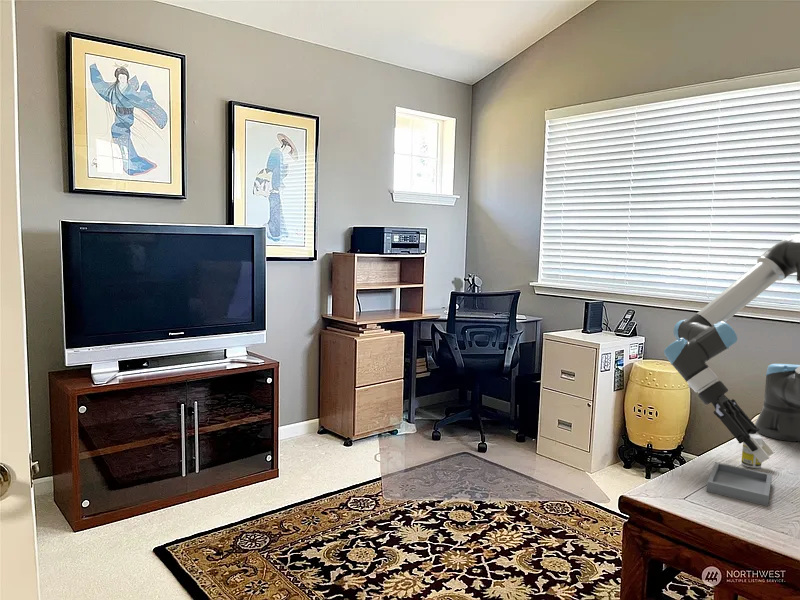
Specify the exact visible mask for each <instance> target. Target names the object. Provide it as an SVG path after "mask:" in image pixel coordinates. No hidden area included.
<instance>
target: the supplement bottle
mask: <svg viewBox="0 0 800 600" xmlns="http://www.w3.org/2000/svg"><path fill="white" fill-rule="evenodd" d="M749 435H750V437H753V438H754V439H755V440H756V441H757V443H758V444H759V445H760V446H761V447H762V449H763V445H762V444H761V443H762V438H763V437H762V436H761V435H760V434H759V435H760V436H759V435H756V434H749ZM740 462H741V464H742V465H743V466H745V467H747V468H752V469H761V467H762V463H760V462H759V461H758V459H757V458H756V457H755V456H754V455H753V453H752V452H751V451H750V450H749V449H748V447H747V446H746V445H745V444H744V443H743V442H742V453H741V461H740Z"/></svg>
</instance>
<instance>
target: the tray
mask: <svg viewBox="0 0 800 600" xmlns="http://www.w3.org/2000/svg"><path fill="white" fill-rule="evenodd" d="M772 477H773V474H772V473H769V472H764V471H758V470H755V469H749V468H745V467H740V466H737V465H731V464H727V463H721V462H717V461H715V462H714V464H713V467H712V468H711V472H710V474H709V477H708V479H707V482H706V492H708V493H711V494H716V495H720V496H724V497H728V498H733V499H736V500H740V501H745V502H748V503H749V502H750V503H753V504H758V505H761V506H767V507H768V506H769V499H770V492H771V486H772Z"/></svg>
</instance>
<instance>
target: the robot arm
mask: <svg viewBox="0 0 800 600" xmlns="http://www.w3.org/2000/svg"><path fill="white" fill-rule="evenodd" d="M795 273H796V282H798V284H800V233H797V234H793V235H790V236H788V237H786V238H784V239H781V241H779V242H777V243H776V244H774V245H773V246H772V247H770V248H768V250H766V251H765V252H764V253H763V254H761V255H760V256H759V257H758V258H757V260H756V263H755V265H754V266H752V267H751V268H749V270H747V271H746V272H745V273H744V274H743V275H741V276H740V277H739V278H738V279H737V280H735V281H734V282H733V283H732V284H730V285H729V286H728V287H727V288H726V289H725V290H723V291H722V292H721V293H719V294H718V295H717V296H716V297H715V298H713V299H712V300H711V301H710V302H709V303H707V304H706V305H705V306H704V307H703V308H701V309H700V310H699V311H698V312H697V313H695V314H694V315H693V316H692V317H691V318H689V319H681V320H679V321H678V322H676V323H675V325H674V327H673V335H674V337H675V339H676V340H674V341H673V342H671V343H670V344H669V345H667V346H666V347H665V348H664V350H663V354H664V356H665V357H666V359H667V361H668V362H669V363H670V365H672V367H673V368H674V369H675V370H676V371H677V372H678V373H679V375H680V376H681V377H682V378H683V380H685V382H686V383H687V384H688V388H690V389H692V390H693V391H694V393H698V394H697V397H698V398H699V399H700V400H701V401H702V403H703V404H704V405H706V406H707V405H709V404H712V406H713V408H714V409H715V410H714V411H713V414H714V415H715V416H716V417H717V418H718V419H719V420H720V421H721V422H722V424H723V425H724V426H725V428H727V430H728V431H729V432H730V433H731V434H732V436H734V438H735V440H737V442H738V443H739V444H743V443H744V444H745V445H746V446H747V447H748V449H749V450H750V451H751V452H752V453H753V455H754V456H755V457H756V458H757V459H758V461H759V462H760V463H761V464H762V463H763V462H765V461H767V460H769V459H771V457H770V456H772V455H773V454H775V451H774V450H773V449H772V447H771V446H770V445H769V444H768V443H767V442H766V440H764V438H763V437H762V443H761V444H762V445H763V449H762V447H761V446H760V445H759V444H758V443H757V441H756V440H755V439H754V438H753V437H750V435H749V434H756V435H759V436H761V435H762V436H765V437H768V438H770V439H771V438H772V439H775V440H780V441H786V442H795V443H797V442H796V441H798V443H799V441H800V364H793V363H771V364H769V365H768V366H767V369H766V374H765V376H766V377H765V385H764V388H765V389H764V397H763V405H762V409H761V411H760V412H759V415H758V416H757V419H756V420H755V423H754V422H753V421H752V419H750V418H749V416H748V415H747V413H745V412H744V410H743V409H742V408H741V407H740V405H738V403H737V401H736V400H735V399H734V398H732V399H729V397H728V396H726V395H725V394H726V393H728V392H729V389H728V388H727V386H726V385H725V384H724V383H723V382H722V381H721V380H718V379H719V377H718V376H717V374H715V372H714V371H713V370H712V369H711V367H710V366H709V365H708V364H707V363H706V362H708V361H710V360H711V359H713V358H714V357H716V356H718V355H719V354H721V353H722V352H725V351H726V350H727V349H729V348H730V347H731V346H733V345H734V344H735V343H737V341H738V336H737V332H736V331H735V330H734V328H733V327H732V326H731V325H730V324H728V323H727V321H728V320H730V319H731V318H733V317H734V316H735V315H736V314H737V313H738V312H740V311H741V310H742V309H744V307H746V306H747V305H749V304H750V303H751V302H752V301H753V300H755V298H757V297H758V296H760V295H761V293H763V292H764V291H766V290H767V289H769V287H770V286H772V285H773V284H774V283H776V282H777V281H778V282H779V281H780V282H781V281H783V280H785V279H786V278H787V277H789V276H790V275H793V274H795Z"/></svg>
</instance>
